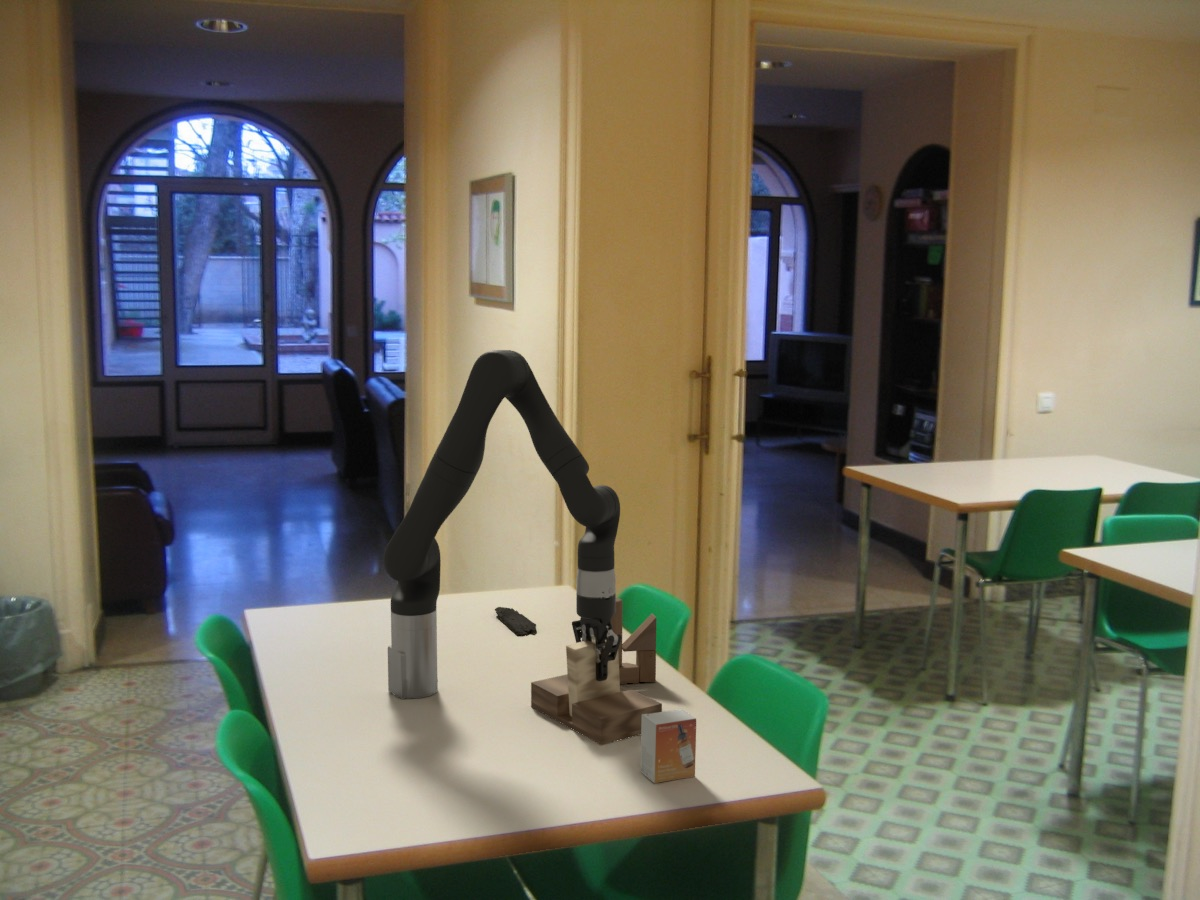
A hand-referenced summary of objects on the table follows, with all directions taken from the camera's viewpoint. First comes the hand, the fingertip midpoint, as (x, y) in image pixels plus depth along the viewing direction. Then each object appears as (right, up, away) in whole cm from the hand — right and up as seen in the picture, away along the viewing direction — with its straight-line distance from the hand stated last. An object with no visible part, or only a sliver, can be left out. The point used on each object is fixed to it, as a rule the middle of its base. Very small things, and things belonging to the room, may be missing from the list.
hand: (596, 677), depth 229 cm
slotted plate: (0, -8, +1) cm, 8 cm away
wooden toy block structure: (+7, -5, +22) cm, 23 cm away
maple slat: (0, -7, +1) cm, 7 cm away
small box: (+12, -12, -25) cm, 31 cm away
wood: (-20, 0, +64) cm, 67 cm away
